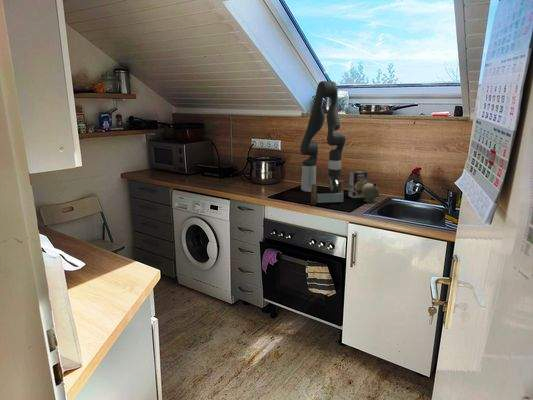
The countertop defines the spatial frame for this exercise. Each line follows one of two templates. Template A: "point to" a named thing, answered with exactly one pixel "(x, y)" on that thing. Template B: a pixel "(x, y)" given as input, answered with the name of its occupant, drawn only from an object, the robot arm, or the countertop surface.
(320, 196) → the gate
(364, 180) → the coffee box
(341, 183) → the gate frame
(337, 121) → the robot arm
